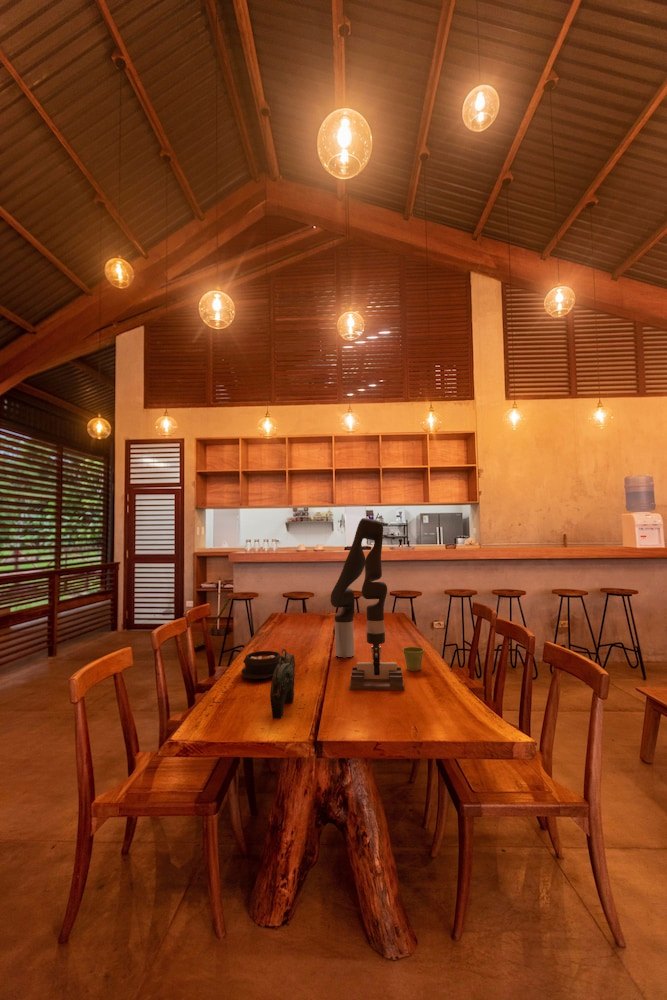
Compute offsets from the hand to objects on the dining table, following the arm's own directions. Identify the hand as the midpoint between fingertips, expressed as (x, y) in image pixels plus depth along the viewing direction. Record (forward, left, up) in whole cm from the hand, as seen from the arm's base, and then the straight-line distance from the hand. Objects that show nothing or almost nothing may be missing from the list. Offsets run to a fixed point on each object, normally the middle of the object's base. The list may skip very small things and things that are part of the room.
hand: (376, 673), depth 194 cm
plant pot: (-18, +16, -3) cm, 24 cm away
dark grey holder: (+3, 0, -3) cm, 5 cm away
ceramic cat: (+30, -33, -3) cm, 45 cm away
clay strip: (0, 0, -2) cm, 2 cm away
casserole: (-10, -50, -3) cm, 51 cm away
